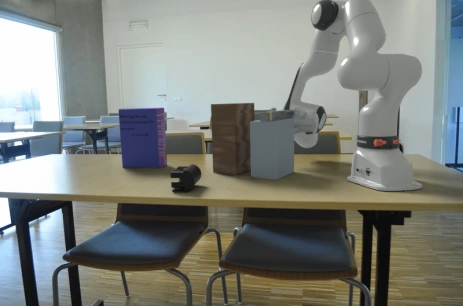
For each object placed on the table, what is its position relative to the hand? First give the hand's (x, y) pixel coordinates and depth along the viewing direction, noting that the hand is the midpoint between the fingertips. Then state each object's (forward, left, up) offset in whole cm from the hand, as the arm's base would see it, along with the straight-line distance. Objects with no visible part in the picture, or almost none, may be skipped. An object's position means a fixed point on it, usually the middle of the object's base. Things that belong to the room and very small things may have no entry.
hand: (284, 109), depth 132 cm
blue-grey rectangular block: (-8, +6, -22) cm, 24 cm away
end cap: (-21, +36, -23) cm, 48 cm away
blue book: (+21, +53, -23) cm, 62 cm away
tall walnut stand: (+3, +18, -22) cm, 29 cm away
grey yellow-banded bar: (-4, +3, -3) cm, 6 cm away
